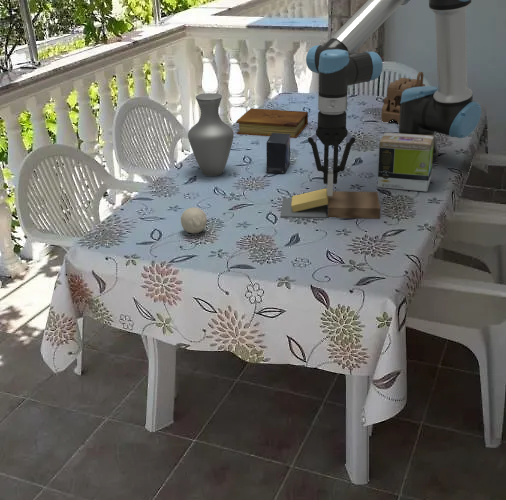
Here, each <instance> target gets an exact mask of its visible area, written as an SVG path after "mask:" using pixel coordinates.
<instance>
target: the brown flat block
mask: <svg viewBox="0 0 506 500" xmlns="http://www.w3.org/2000/svg"><path fill="white" fill-rule="evenodd" d="M380 215H381V204H380V200H379V193H378V191H349V190H348V191H341V190H339V191H337V190H335V191H334V190H333V196H328V204H327V218H328V217H336V218H335V219H338V218H339V219H374V220H375V219H380V217H381V216H380Z"/></svg>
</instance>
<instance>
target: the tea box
mask: <svg viewBox="0 0 506 500" xmlns="http://www.w3.org/2000/svg"><path fill="white" fill-rule="evenodd" d="M433 146H434V136H433V135H417V134H401V133H399V132H397V133H396V132H384V133H383V135H382V137H381V138H380V140H379V145H378V164H377V167H378V168H377V188H384V189H385V188H386V189H395V190H406V191H408V190H409V191H416V192H417V191H418V192H425V193H426V192H428V190H429V186H430V183H431V179H432V172H433V171H432V170H433V162H432V159H433Z"/></svg>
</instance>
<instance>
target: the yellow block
mask: <svg viewBox="0 0 506 500" xmlns="http://www.w3.org/2000/svg"><path fill="white" fill-rule="evenodd" d="M291 198H292V204H291V207H292V210H293V212H296V211H301V210H305V209H309V208H314V207H318V206H322V205H326V206H328V196H327V188H322V189H321V188H320V189H317V190H313V191H309V192H305V193H301V194H296V195H292V197H291Z"/></svg>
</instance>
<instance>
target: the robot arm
mask: <svg viewBox="0 0 506 500" xmlns="http://www.w3.org/2000/svg"><path fill="white" fill-rule="evenodd" d="M410 1H411V0H366V2H364V4H363V5H362V6H361V7H360V8H359V9H358V10H357V11H356V12H355V13H354V14H352V16H351V17H350V18H349V19H348V20H347V21H346V22H345V23H344V24H343V25H342V26H341V27H340V28H339V29H338V30H337V31H336V32H335V33H334V34H333V36H332V37H330V38H329V40H328V41H326V42H325V44H324V45H322V44H318V45H314V46H312V47H310V48H309V50H308V51H307V53H306V57H305V63H306V66H307V69H308V70H309V71H311V72H312V73H315V74H318V94H317V95H318V96H317V97H318V98H317V100H318V101H317V109H318V112H317V128H316V130H315V132H314V133H313V134H309V135H308V136H307V141H308V143H309V145H310V146H311V149H312V154H313V158H314V161H315V166H316V170H317V172H321V173H322V175H323V178H322V179H323V182H322V183H323V184H324V185H327V186H326V187H327V196H333V191H334V185H337V183H338V174H339V173H340V172H344V171H345V168H346V165H347V161H348V159H349V158H348V157H349V155H350V153H351V152H350V151H351V148H352V146H353V145H354V143H355V142H356V136H355V135H354V134H350V133H349V131H348V129H347V112H346V110H348V109H347V108H348V88H349V86H352V85H358V84H361V83H362V84H363V83H369V82H370V81H373V80H376V79H378V78H379V77H380V76H381V74H382V73H383V69H384V68H383V64H384V63H383V59H382V57H381V56H380V55H379V54H378V53H377V52H375V51H363V52H357V51H358V50H359V48H360V47H361V46H362V45H364V43H365V42H366V41H367V40H368V39H369V38H370V37H371V36H372V35H373V34H374V33H375V32H376V31H377V30H378V29H379V28H380V27H381V26H382V25H383V24H384V23H385V22H386V20H388V18H390V16H392V14H394V13H395V11H396V10H398V8H400V6H404V5H407V4H408V3H409V2H410ZM471 4H472V0H428V7H429V10H431V11H432V12H433V13H434V21H435V22H434V24H435V25H434V26H435V46H436V47H435V48H436V49H435V50H436V71H437V74H436V75H437V86H430V85H429V86H428V85H425V86H423V87H413V88H409V89H406V90H404V91H403V93H402V97H401V102H400V120H399V125H398V126H399V128H398V133H401V134H417V135H433V136H434V146H433V159H432V163H433V162H435V161H437V160H438V158H439V157H438V156H439V149H438V145H437V140H436V136H435V133H439V134H442V135H444V136H445V135H446V136H448V137H450V138H457V139H465V138H467V137H469V136H470V135H471V134H472V133H473V132H474V131H475V129H476V128H477V126H478V124H479V122H480V120H481V116H482V107H481V104H480V103H478V101H474V98H473V96H474V95H473V94H474V93H473V90H472V89H471V88H470V87H468V57H467V55H468V53H467V52H468V50H467V44H468V42H467V8H468V7H470V5H471ZM318 139H319V141H320V142H321V144H322V145H323V148H324V149H323V165H322V162H321V157H320V154H319V150H318V145H317V142H318ZM344 140H345V147H344V150H343V153H342V157H341V161H340V164H339V145H341V144H342V143H343V141H344ZM330 146H333V155H332V156H333V157H332V158H333V159H332V161H333V162H332V163H333V164H332V170H329V150H330V148H329V147H330Z"/></svg>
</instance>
